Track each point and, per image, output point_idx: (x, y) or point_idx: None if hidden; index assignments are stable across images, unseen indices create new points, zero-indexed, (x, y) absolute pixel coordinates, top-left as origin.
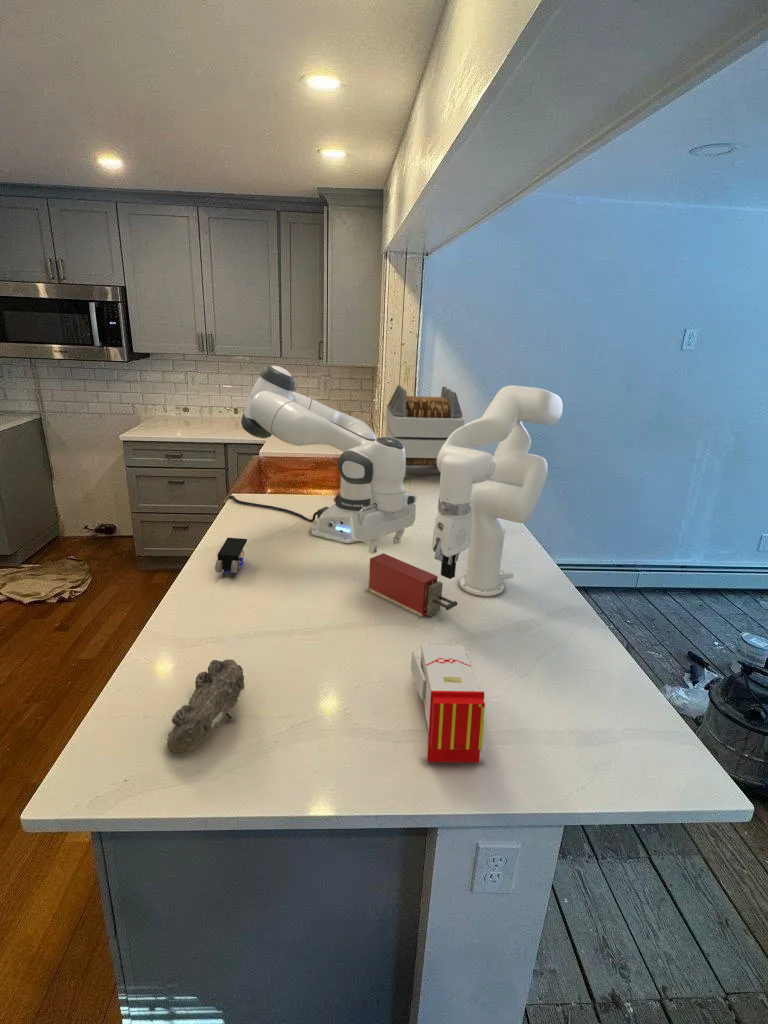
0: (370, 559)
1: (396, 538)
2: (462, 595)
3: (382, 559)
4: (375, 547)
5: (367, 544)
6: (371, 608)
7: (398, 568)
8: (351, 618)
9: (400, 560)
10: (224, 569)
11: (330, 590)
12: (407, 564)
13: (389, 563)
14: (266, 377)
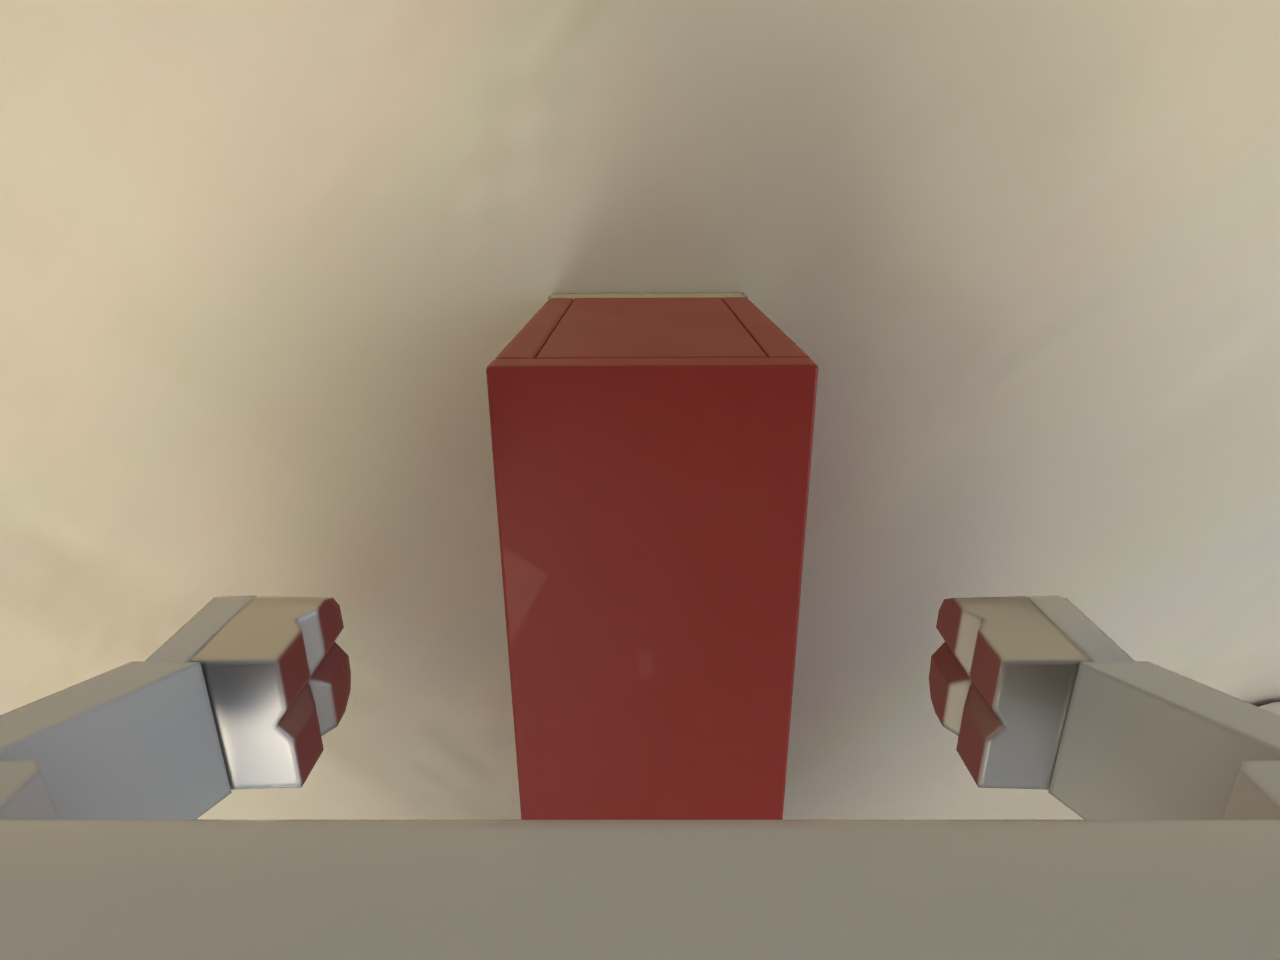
0: (489, 379)
1: (1007, 749)
2: (1039, 819)
3: (617, 521)
4: (249, 787)
5: (61, 699)
6: (364, 531)
7: (578, 816)
8: (137, 535)
9: (787, 696)
10: None
11: (235, 3)
12: (755, 814)
13: (597, 665)
14: None
